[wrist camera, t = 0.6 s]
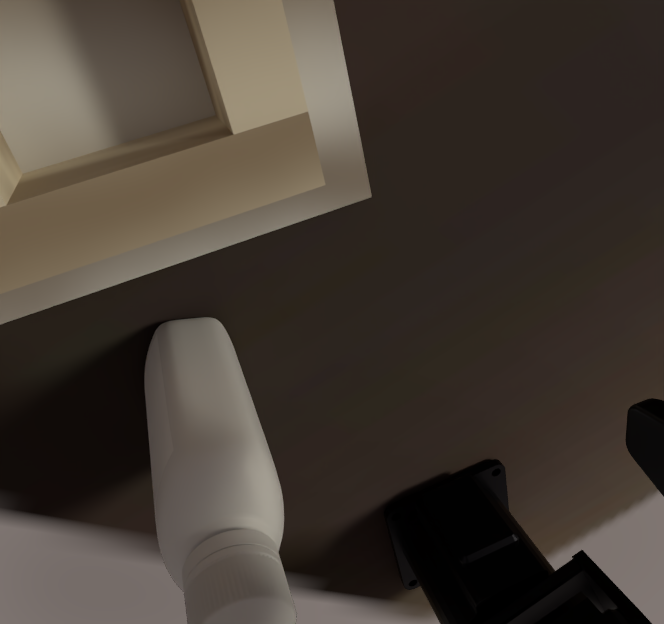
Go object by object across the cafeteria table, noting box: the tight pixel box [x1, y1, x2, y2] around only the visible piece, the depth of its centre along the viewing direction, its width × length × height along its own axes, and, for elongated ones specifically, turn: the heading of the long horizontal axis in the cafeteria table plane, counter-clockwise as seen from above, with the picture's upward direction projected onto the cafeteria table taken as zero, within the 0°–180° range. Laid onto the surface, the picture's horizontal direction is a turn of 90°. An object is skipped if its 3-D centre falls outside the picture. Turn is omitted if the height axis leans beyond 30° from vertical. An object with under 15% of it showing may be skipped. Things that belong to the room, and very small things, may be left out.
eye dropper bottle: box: [144, 317, 297, 624], centre depth 17 cm, size 4×6×12 cm
